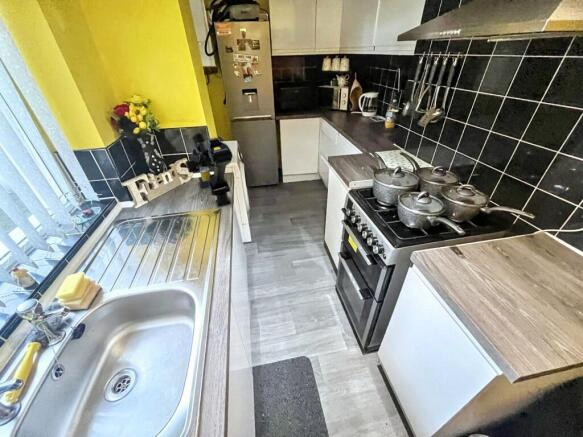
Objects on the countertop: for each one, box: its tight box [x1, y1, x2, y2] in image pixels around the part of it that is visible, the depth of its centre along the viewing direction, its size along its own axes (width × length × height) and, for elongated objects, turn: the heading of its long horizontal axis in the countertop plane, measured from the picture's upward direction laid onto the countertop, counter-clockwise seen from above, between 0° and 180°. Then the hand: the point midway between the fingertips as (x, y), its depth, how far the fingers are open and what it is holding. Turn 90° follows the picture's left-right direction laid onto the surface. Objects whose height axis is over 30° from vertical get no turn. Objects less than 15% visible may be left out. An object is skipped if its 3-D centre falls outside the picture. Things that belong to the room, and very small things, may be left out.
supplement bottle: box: [199, 166, 212, 182], centre depth 144 cm, size 5×5×10 cm
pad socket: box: [198, 176, 209, 189], centre depth 147 cm, size 8×8×4 cm
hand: (203, 169), depth 144 cm, fingers closed on supplement bottle, 5 cm apart
